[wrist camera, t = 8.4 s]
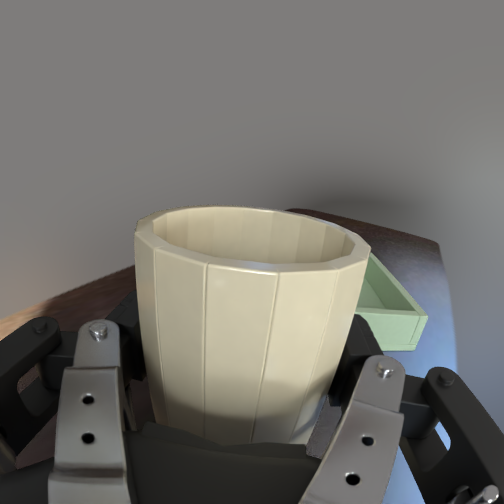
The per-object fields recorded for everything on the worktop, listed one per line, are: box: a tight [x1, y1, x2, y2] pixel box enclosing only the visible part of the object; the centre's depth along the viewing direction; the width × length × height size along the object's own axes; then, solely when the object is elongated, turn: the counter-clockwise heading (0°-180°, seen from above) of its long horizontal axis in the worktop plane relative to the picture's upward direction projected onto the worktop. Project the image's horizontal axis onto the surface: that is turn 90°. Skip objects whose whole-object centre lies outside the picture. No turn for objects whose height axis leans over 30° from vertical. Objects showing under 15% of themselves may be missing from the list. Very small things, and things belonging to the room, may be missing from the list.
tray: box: [355, 253, 428, 351], centre depth 25 cm, size 18×15×3 cm
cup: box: [134, 205, 371, 445], centre depth 9 cm, size 6×6×10 cm
